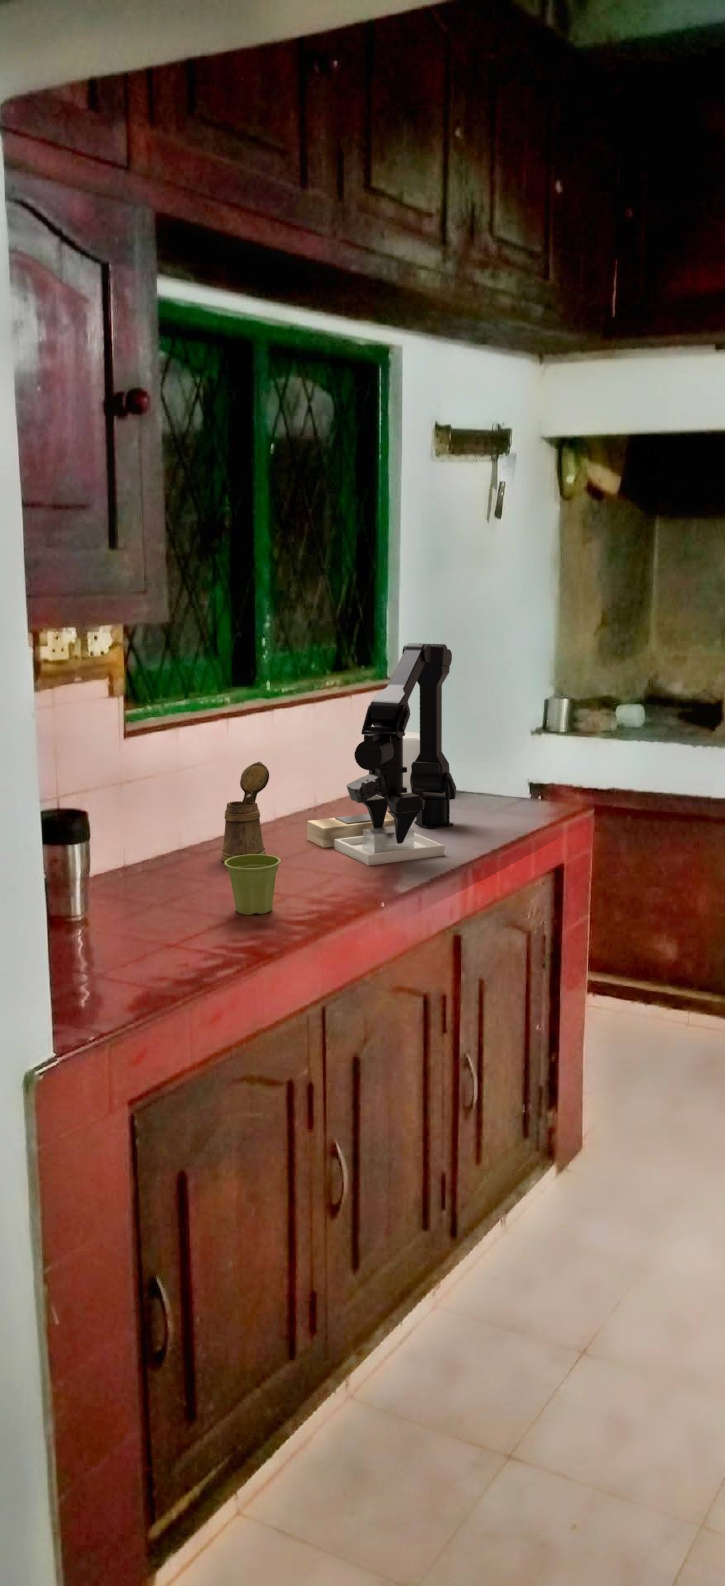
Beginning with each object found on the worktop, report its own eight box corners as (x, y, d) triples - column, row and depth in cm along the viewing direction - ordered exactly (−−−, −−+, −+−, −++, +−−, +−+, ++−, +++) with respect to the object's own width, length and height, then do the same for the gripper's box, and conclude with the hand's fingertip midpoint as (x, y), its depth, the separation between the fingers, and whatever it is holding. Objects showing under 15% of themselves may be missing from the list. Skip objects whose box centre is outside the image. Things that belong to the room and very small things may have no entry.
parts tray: (407, 839, 260) (407, 830, 260) (444, 855, 247) (444, 845, 247) (334, 848, 253) (334, 839, 252) (368, 865, 239) (368, 855, 239)
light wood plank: (391, 829, 270) (391, 809, 269) (409, 836, 263) (409, 816, 262) (307, 839, 261) (306, 819, 260) (323, 847, 254) (323, 827, 253)
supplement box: (420, 800, 299) (420, 738, 296) (387, 796, 304) (387, 735, 301) (437, 793, 307) (437, 733, 304) (405, 790, 312) (405, 730, 309)
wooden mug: (282, 849, 252) (280, 762, 249) (255, 866, 240) (253, 774, 236) (241, 846, 255) (239, 760, 252) (213, 862, 243) (210, 771, 239)
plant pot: (259, 921, 205) (258, 870, 203) (214, 913, 210) (213, 863, 208) (292, 907, 213) (291, 858, 211) (248, 899, 217) (247, 851, 216)
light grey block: (402, 843, 254) (402, 824, 253) (414, 849, 250) (414, 829, 249) (362, 849, 250) (362, 829, 249) (374, 854, 246) (374, 834, 245)
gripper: (331, 758, 251) (332, 833, 254) (374, 773, 234) (374, 853, 238) (380, 753, 256) (380, 827, 259) (425, 767, 239) (425, 846, 242)
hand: (388, 838), depth 249 cm, fingers open, 9 cm apart
